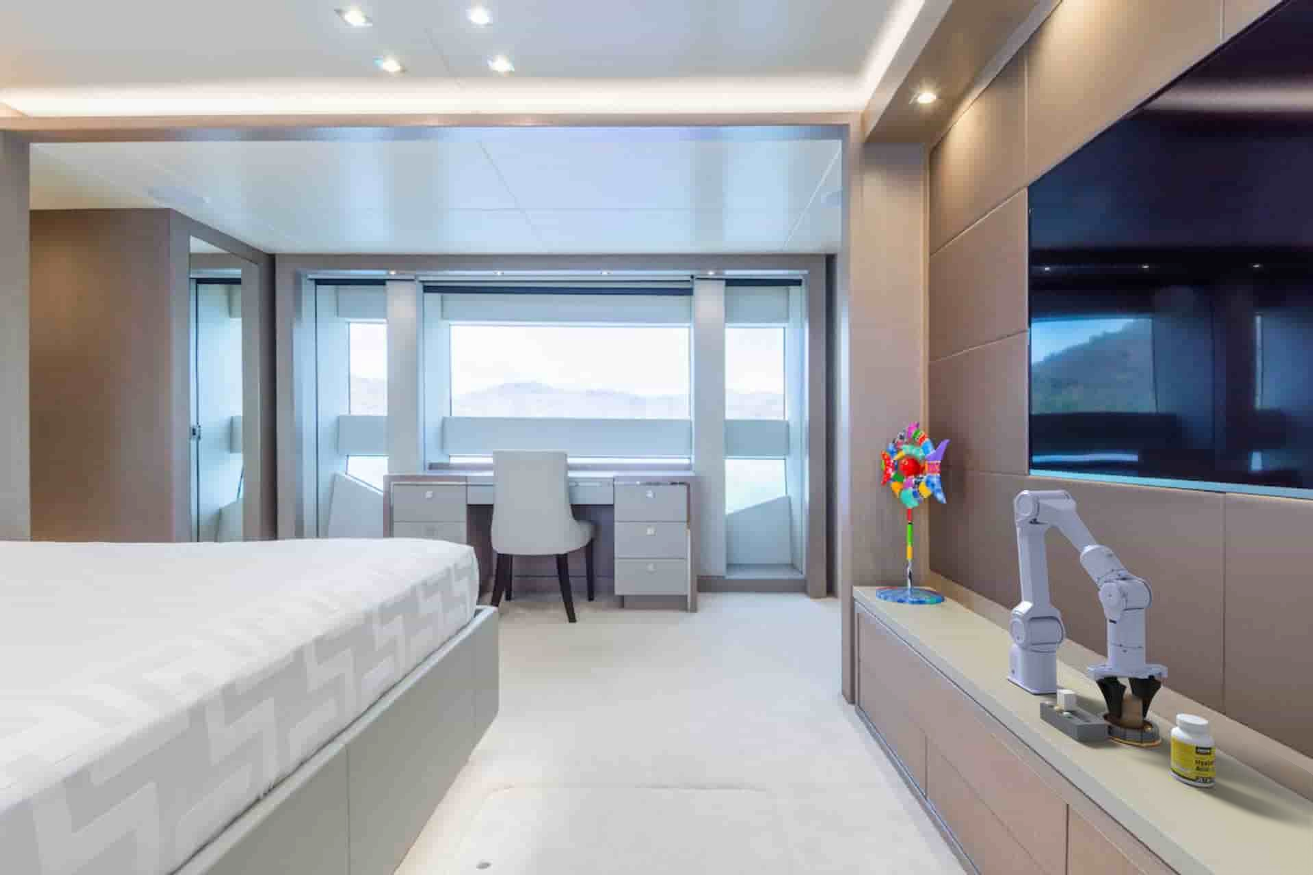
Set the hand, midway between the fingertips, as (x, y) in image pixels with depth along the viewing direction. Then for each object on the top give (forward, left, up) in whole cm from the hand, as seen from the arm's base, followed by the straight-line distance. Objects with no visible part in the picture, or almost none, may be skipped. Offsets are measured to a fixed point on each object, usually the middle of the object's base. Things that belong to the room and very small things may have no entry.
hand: (1127, 716), depth 120 cm
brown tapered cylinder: (0, 0, -1) cm, 1 cm away
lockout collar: (0, 0, -3) cm, 3 cm away
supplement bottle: (+16, -2, -3) cm, 17 cm away
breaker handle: (-5, -8, 0) cm, 10 cm away
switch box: (-3, -8, -3) cm, 10 cm away
